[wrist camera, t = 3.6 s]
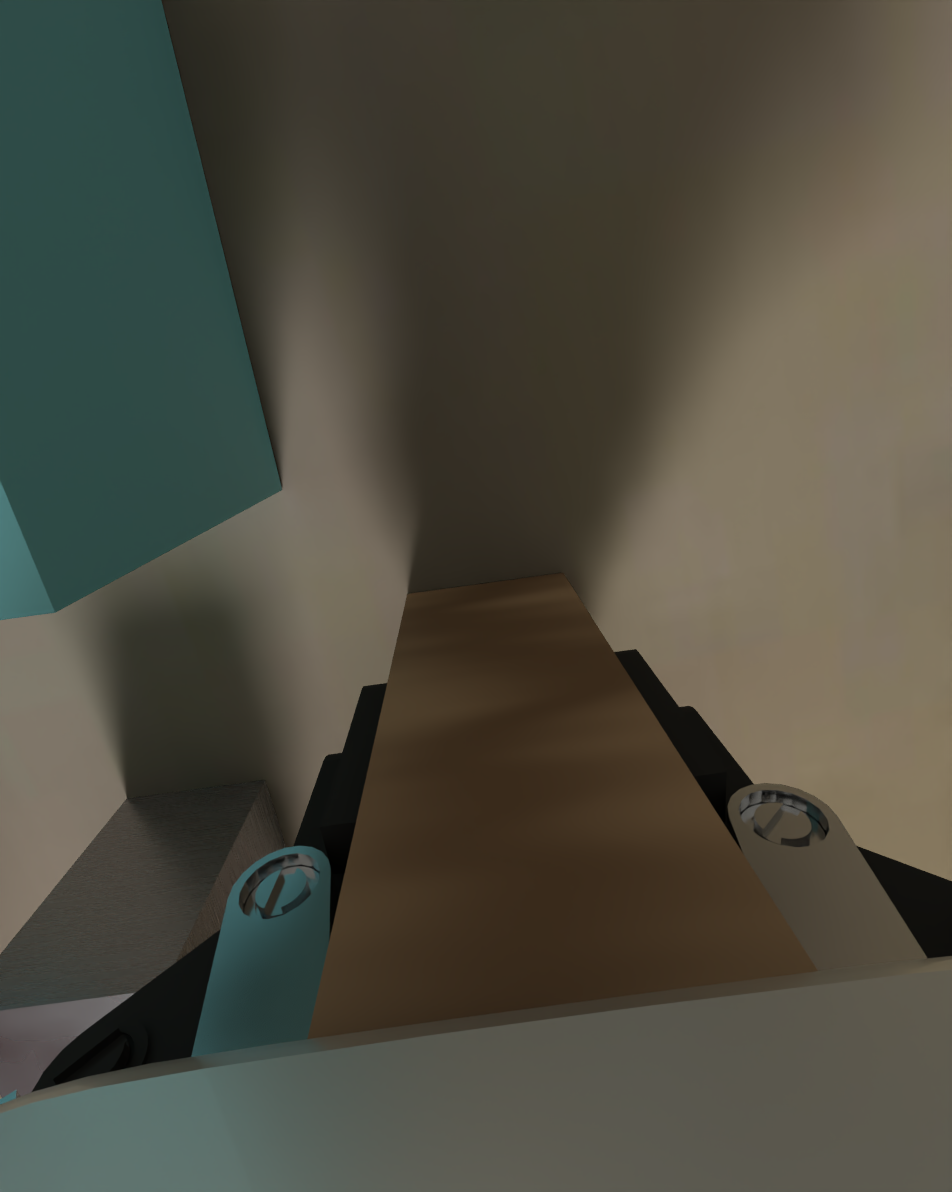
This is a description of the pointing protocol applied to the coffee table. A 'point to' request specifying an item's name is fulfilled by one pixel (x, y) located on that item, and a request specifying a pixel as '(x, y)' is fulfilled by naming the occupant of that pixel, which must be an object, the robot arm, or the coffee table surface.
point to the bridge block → (110, 310)
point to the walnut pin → (530, 831)
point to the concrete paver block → (125, 916)
